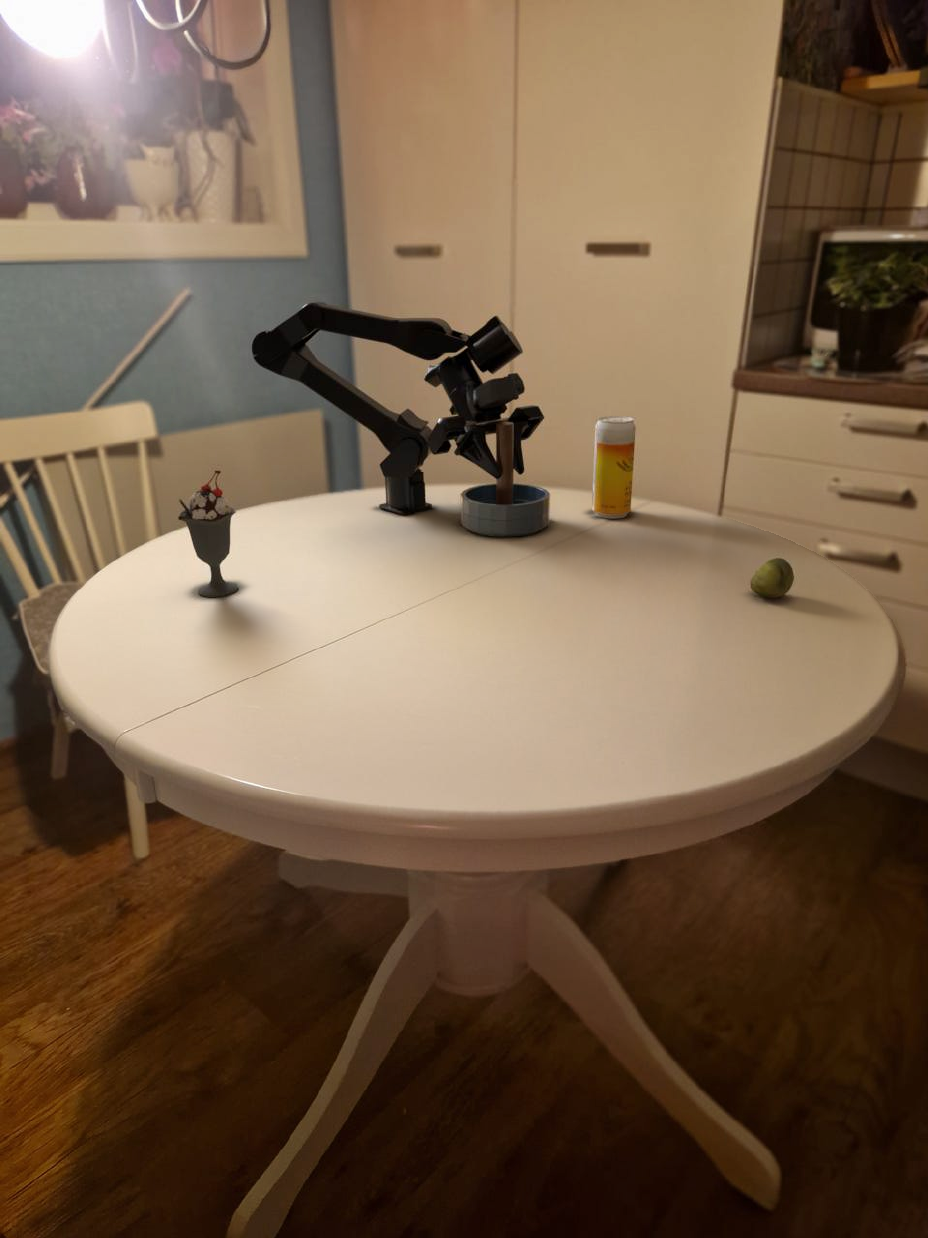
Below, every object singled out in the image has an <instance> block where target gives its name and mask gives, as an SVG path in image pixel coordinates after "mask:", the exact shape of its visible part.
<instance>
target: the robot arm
mask: <svg viewBox="0 0 928 1238" xmlns="http://www.w3.org/2000/svg"><path fill="white" fill-rule="evenodd" d="M321 331H323V332H327V333H331V334H332V333H333V334H338V335H343V336H347V337H353V338H357V339H362V340H368V341H373V342H378V343H383V344H386V345H390V346H392V347H394V348H396V349H398V350H400V351H402V352H404V353H406V354H409V355H411V356H413V357H416V358H419V359H421V360H423V361H424V360H425V361H435V360H438V359H439V358H441V357H442V356H445V355H446V354H455V355H453V356H451V355H450V356H449V355H448V356H447V357H446V358H444V359H443V360H442V361H440V362H439V363H437V364H436V365H432V364H431V365H428V369H427V371H426V373H425V375H424V378H423V380H424V382H426V383H427V384H429V385H430V386H432V387H434V388H438V387H439V386H442V388H443V390H444V391H445V394H446V395H447V397H448V399H449V401H450V403H451V406H450V408H449V409H448V411H449V413H450V414H451V416H445V417H439V418H438V420H437V422H436V423H435V425H434V426H433V428H431V427H430V426H428V425H429V423H430V422H429V420H424V419H422V418H420V417H419V416H417V414H416V413H414V412H413V410H411V409H409V408H405V410H403V411H402V412H401V413H397V412H394V411H392V410H390V409H388V408H387V407H385V406H384V405H383V404H381V403H380V402H378V401H377V400H376V399H374V398H373V397H371V396H370V395H368V394H367V393H365V392H364V391H362V390H361V389H359V388H358V387H357V386H355V385H354V384H353V383H350V382H349V381H348V380H347V379H345V378H344V377H342V376H341V375H340V374H338V373H336V371H334V370H333V369H331V368H330V367H328V366H326V365H325V363H323V362H321V361H319V359H317V357H316V356H315V354H314V353H313V352H312V350H311V349H310V348H309V346H308V345H307V343H309V342H310V341H311V340H312V339H313V338H315V337H316V335H317V334H318V333H319V332H321ZM251 352H252V356H253V360H254V361H255V363H256V364H257V365H258V366H260V367H261V368H263V369H265V370H267V371H269V372H271V373H273V374H276V375H278V376H281V377H283V378H287V379H290V380H293V381H295V382H299V383H301V384H302V385H304V386H306V387H307V388H308V389H310V390H311V391H313V392H314V393H315V394H316V395H318V396H320V397H321V398H323V399H324V400H326V401H327V402H328V403H330V404H331V405H333V406H334V407H336V408H337V409H339V410H340V411H341V412H343V413H344V414H346V415H347V416H349V417H350V418H351V419H353V420H355V421H356V422H357V423H358V424H360V425H361V426H363V427H365V429H368V431H370V432H372V433H373V434H374V435H375V436H376V437H377V439H378V441H379V442H380V444H381V445H382V446H383V448H384V449H385V450H386V451H387V452H388V453H389V454H387V456H386V457H385V458H384V459H383V460H382V461H381V462H380V463H379V468H380V470H381V472H382V475H383V477H384V485H385V486H384V488H385V502H383V503H379V505H378V508H379V509H382V510H385V511H388V512H392V513H395V514H400V515H408V514H411V513H415V512H419V511H422V510H426V509H430V508H433V504H432V503H430V502H426V501H427V500H426V482H425V476H424V474H425V473H424V471H422V469H420V468H421V467H423V465H424V463H425V461H426V460H427V459H428V457H430V455H431V454H432V455H433V456H437V455H442V454H448V453H449V452H450V450H451V448H452V443H451V442H450V441H454V443H455V445H456V448H455V450H454V451H453V453H454V455H455V456H457V457H458V456H460V457H461V458H464V459H465V460H467V461H469V462H471V463H472V464H474V465H475V466H477V467H479V468H480V469H481V470H483V471H484V472H486V473H487V474H489V475H490V476H492V477H493V478H494V479H495V480H496V479H499V478H500V477H501V472H500V469H499V466H498V464H497V462H496V457H495V456H494V454H493V453H492V451H491V448H490V447H489V445H488V442H487V436H490V435H496V423H498V422H512V423H514V465H513V471H515V472H516V473H517V474H518V475H520V476H521V475H523V474H524V472H525V463H524V457H523V456H524V455H523V449H522V447H523V446H522V441H526V440H527V439H529V438H530V437H531V436H532V435H533V433H534V432H536V429H537V428H538V427H539V426H540V424H541V423H542V422H543V421H544V420H545V416H544V414H543V411H542V410H541V408H540V407H539V405H534V404H532V405H524V406H517V407H515V409H514V410H513V411H512V412H511V414H510V415H509V417H502V416H501V415H502V414H505V413H506V411H507V410H508V406H507V404H509V403H511V402H512V401H517V400H519V398H520V395H522V394H524V393H525V389H526V387H525V383H524V381H523V379H522V378H521V376H520V374H518V372H514V373H513V372H512V373H508V374H507V375H506V376H503V377H497V378H492V379H488V380H486V381H485V382H484V381H483V379H482V378H481V376H480V374H479V372H478V371H480V372H481V373H482V374H484V373H486V372H487V371H488V372H489V374H491V375H495V374H496V373H497V372H499V371H500V370H501V369H502V368H505V366H506V365H508V364H510V363H511V362H512V361H514V360H515V359H516V358H517V357H519V356H520V355H522V354H523V353H524V350H523V347H522V346H521V344H520V342H519V340H518V338H517V337H516V335H515V334H514V332H513V331H512V330H511V331H510V329H509V328H508V327H507V326H506V324H505V323H504V322H503V321H502V320H501V319H500V317H499V316H498V315H494V316H492V317H491V318H490V319H489V320H487V322H486V323H485V324H484V325H483V326H482V327H481V328H479V329H478V330H476V331H475V332H474V333H473V334H471V335H469V334H467V333H463V332H461V331H458V330H455V329H452V327H451V325H450V324H449V323H448V321H446V320H445V319H443V318H440V317H392V316H387V315H382V314H376V313H371V312H366V311H362V310H358V309H357V310H356V309H351V308H346V307H341V306H338V305H337V306H336V305H331V304H328V303H325V302H324V301H311V302H308V303H306V304H304V306H302V308H301V309H300V310H299V311H297V312H296V313H295V314H293V315H291V316H290V317H289V318H287V319H286V320H284V321H283V322H282V323H280V324H278V325H277V326H276V327H274V328H271V329H267V330H264V331H261V332H259V333H257V334H256V336H254V338H253V339H252V342H251ZM458 352H459V353H458ZM475 366H476V367H475ZM476 368H477V369H478V371H477V369H476Z"/></svg>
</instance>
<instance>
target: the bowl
mask: <svg viewBox="0 0 928 1238" xmlns="http://www.w3.org/2000/svg"><path fill="white" fill-rule="evenodd" d="M550 507H551V493H550V492H549V490H547V489H545V488H543V487H541V486H537V485H532V484H526V483H516V482H513V504H508V505H503V504H496V483H487V484H480V485H476V486H472V487H468V488H466V489H464V490H463V491H462V492H461V493H460V523H461V525H462V526H463V528H466V529H467V530H469V531H471V532H473V533H475V534H478V535H482V536H486V537H487V536H489V537H498V538H510V537H522V536H527V535H532V534H535V533H537V532H539V531H542V530H543V529H545V528H547V526H549V524H550V513H551V512H550V511H551V509H550Z"/></svg>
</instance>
